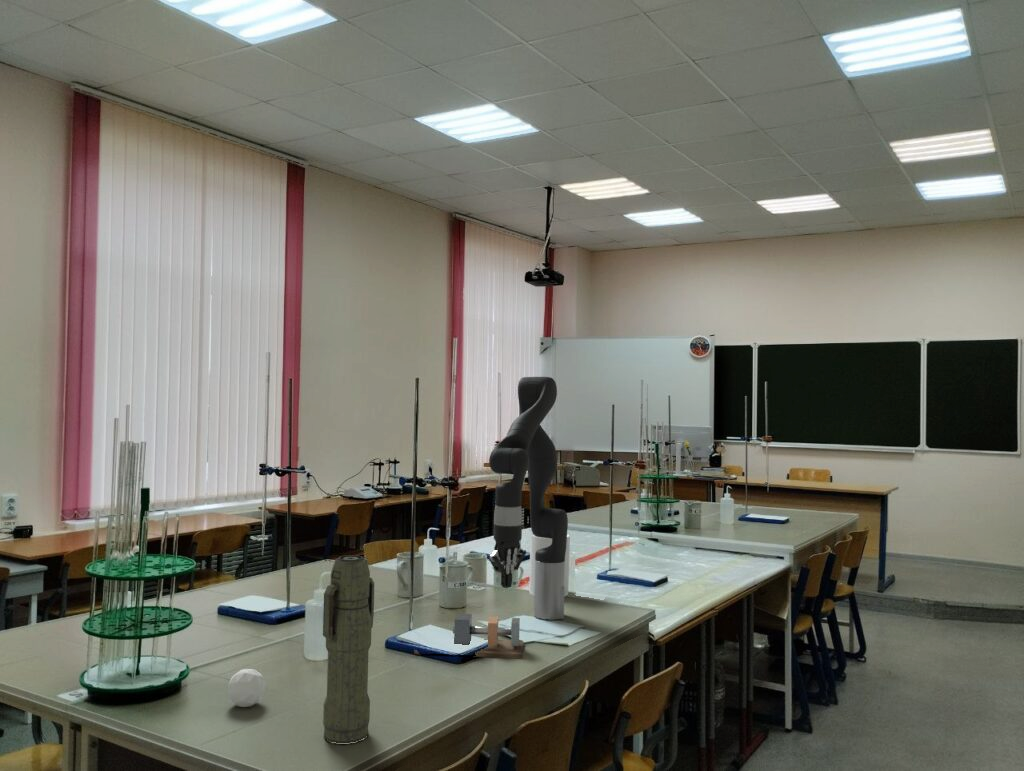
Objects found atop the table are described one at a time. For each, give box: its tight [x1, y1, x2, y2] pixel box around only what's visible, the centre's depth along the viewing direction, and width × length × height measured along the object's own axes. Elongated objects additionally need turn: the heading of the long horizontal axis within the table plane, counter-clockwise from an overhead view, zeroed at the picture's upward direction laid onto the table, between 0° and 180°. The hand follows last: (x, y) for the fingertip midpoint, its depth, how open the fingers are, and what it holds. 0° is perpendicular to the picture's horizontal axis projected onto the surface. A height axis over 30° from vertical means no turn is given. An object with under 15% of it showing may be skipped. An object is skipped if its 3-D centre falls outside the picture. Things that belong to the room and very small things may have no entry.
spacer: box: [487, 615, 499, 646], centre depth 214 cm, size 2×6×6 cm, turn 178°
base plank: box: [413, 638, 524, 659], centre depth 214 cm, size 28×12×1 cm, turn 87°
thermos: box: [322, 554, 375, 743], centre depth 159 cm, size 9×12×35 cm
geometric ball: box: [227, 668, 266, 708], centre depth 173 cm, size 8×8×8 cm
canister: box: [528, 533, 570, 597], centre depth 279 cm, size 14×14×20 cm
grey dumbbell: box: [452, 617, 521, 646], centre depth 214 cm, size 18×5×6 cm, turn 87°
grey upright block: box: [453, 613, 473, 645], centre depth 215 cm, size 4×6×8 cm, turn 177°
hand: (506, 587), depth 215 cm, fingers closed
